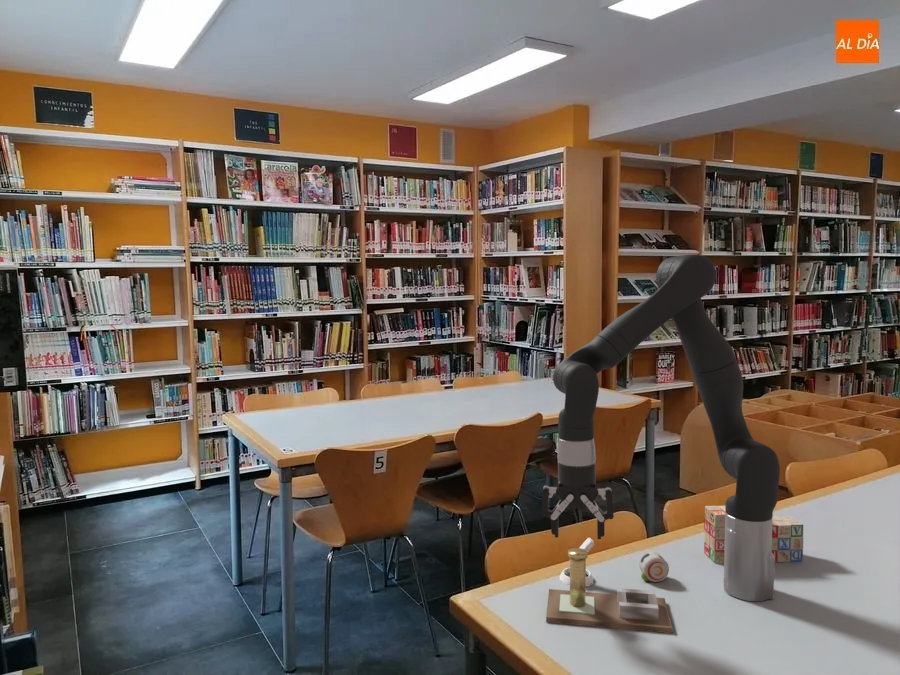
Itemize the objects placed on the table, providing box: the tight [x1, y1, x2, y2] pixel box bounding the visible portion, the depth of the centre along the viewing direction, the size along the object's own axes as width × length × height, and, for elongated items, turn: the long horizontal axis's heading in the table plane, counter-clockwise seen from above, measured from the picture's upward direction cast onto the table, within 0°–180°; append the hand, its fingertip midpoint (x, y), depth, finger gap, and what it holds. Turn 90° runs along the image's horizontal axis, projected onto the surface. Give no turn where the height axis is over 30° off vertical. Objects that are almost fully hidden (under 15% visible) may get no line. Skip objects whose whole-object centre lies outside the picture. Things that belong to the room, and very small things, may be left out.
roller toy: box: [638, 551, 670, 583], centre depth 147 cm, size 4×6×6 cm
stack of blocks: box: [703, 505, 804, 564], centre depth 157 cm, size 21×6×12 cm, turn 91°
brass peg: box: [567, 547, 589, 607], centre depth 133 cm, size 4×4×11 cm
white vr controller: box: [559, 537, 595, 587], centre depth 147 cm, size 8×12×7 cm
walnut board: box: [545, 587, 673, 634], centre depth 133 cm, size 24×12×4 cm, turn 79°
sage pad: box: [559, 594, 595, 615], centre depth 134 cm, size 7×7×1 cm
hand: (577, 537), depth 133 cm, fingers open, 8 cm apart
